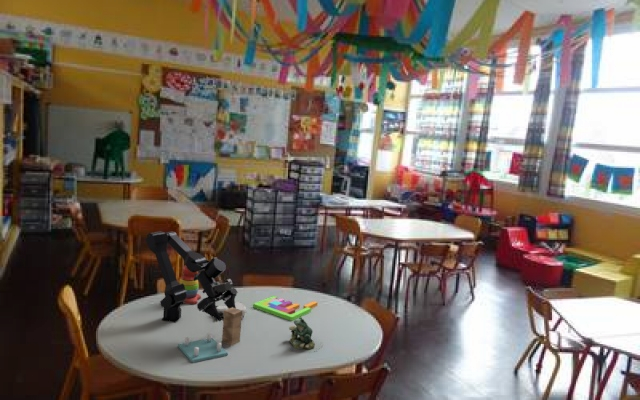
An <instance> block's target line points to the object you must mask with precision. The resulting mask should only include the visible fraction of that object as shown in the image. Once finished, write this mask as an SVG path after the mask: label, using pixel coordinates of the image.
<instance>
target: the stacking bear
mask: <svg viewBox="0 0 640 400" xmlns="http://www.w3.org/2000/svg"><path fill="white" fill-rule="evenodd" d="M198 273H200V271H198V272H193V273H192V272H190V271H189V269H188V268H187V267H186V265H185V264H184V265H183V267H182V274H183V275H181V276H180V279H179V281H178V282H179V283H180V284H182V283H183V284H184V287H185V290H186V291H187V292H186V295H187V297H186V299H185V300H184V303H183V304H188V305H197V304H198V303H199V302H198V300H200V299H202V296H201V294H199V293H198V292H199V287H200V285H199V284H200V283H199V281H198V280H197V281H194V277H195V274H198Z"/></svg>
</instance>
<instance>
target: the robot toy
mask: <svg viewBox="0 0 640 400" xmlns="http://www.w3.org/2000/svg"><path fill="white" fill-rule="evenodd" d="M215 307H216V309H217V311H218V313H219V315H220V317H221V318H222V317H223V318H224V311H225V310H227V309H229V308H228V307H227V306H226V305H215ZM235 307H236V309H239V310H242V317H243V316H245V315H246V314H247V311H246V310H247V308H246V305H245V304H243V301H240V302H239V301H238V302H235Z"/></svg>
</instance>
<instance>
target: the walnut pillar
mask: <svg viewBox="0 0 640 400" xmlns="http://www.w3.org/2000/svg"><path fill="white" fill-rule="evenodd" d="M242 318H243V316H242V310H239V309H236V308H233V307H232V308H230V309H227V310H225V311H224V316H223V324H222V335H221V343H224V344H226V345H229V346H234V345H235V344H238V343H240V341H241V329H242Z"/></svg>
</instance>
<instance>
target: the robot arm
mask: <svg viewBox="0 0 640 400" xmlns="http://www.w3.org/2000/svg"><path fill="white" fill-rule="evenodd" d="M145 243H146V245H147V247H148V249H149V250H150V251H151V252H152V253H153V254H154V255H155V258H156V261H157V265H158V267H159V270H160V273H161V276H162V279H163V281H164V282H163V283H164V284H165V287H164V297H163V298H162V299H161V300H160V301H159V303H160V307H162V308H163V315H162V318H161V321H162V322H163V321H164V322H173V323H177V322H178V321H179V320H180V319H181V318H182V307H181V305H183V304H185V303H184V300H185V299H186V297H187V295H186V292H187V291H186V290H185V287H184V284H183V283H182V284H180V283H179V281H178V280H177V277H176V273H175V271H174V267H173V265H172V262H171V259H170V257H169V253H168V251H167V250H168V249H167V248H168V245H169V246H170V247H171V248H172V249H173V250H174V251H175V252H176V253H177V254H178V255H179V256H180V257H181V258H182V259H183V261H184V266H185V265H186V267H187V268H188V269H189V271H190V272H192V273H193V272H198V271H199V272H198V274H195V277H194V281H197V280H198V283H199V284H200V286H201V288H202V289H203V290H201V291H202V292H201V293H202V294H205V295H206V297H203V298H202V299H201V301H199V302H198V303H197V304H196V307H197V310H198V311H199V312H203V313H206V314H207V315H210V316H211V317H212V318H214V319H216V320H217V321H218V322H221V321H222V317H220V315H219V313H218V311H217V309H216V307H215V306H216V302H219V301H223V303H224V306H226V307H228V308H229V309H230V308H232V307H233V308H236V307H235V303H236V302H235V299H236V297H237V295H238V293H239V292H238V290H237V288H235V287H233V286H234V283H233V281H232V279H231V278H228V279H226V280H224V282H223V283H220V281H216V279H217V278H218V277H219V276H220V275H221V274H223V272H224V271H226V269H227V265H226V262H224V261H223V260H221V259H219V258H218V257H217V256H216V257H212V258H211V259H210V260H209V259H207V258H206V257H205V256H203V255H202V254H200V253H199V252H196V251H194V250H192V249H191V248H190V246H188V245H187V244H186V243H185V241H184V240H182V238H180V236H178V234H177V233H176V231H168V232H163V231H161V230H160V231H155V232H151V233H148V234H147V235H146V237H145Z"/></svg>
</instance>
